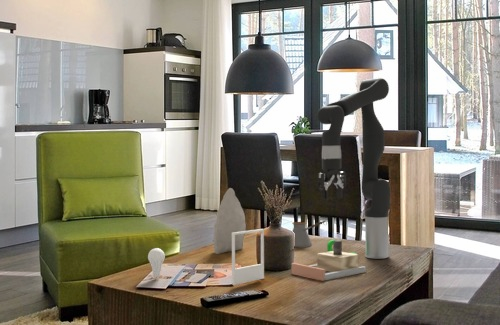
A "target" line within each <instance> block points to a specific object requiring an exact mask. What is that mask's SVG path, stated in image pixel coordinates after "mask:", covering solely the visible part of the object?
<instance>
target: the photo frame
mask: <svg viewBox="0 0 500 325" xmlns="http://www.w3.org/2000/svg"><path fill="white" fill-rule="evenodd" d="M264 230H265V229H264V228H258V229H250V230H246V231H242V232H234V233H232V251H231V285H233V286H235V285H240V284H243V283H244V284H245V283H249V282H254V281H258V280H263V279H265V241H264V240H265V235H264V234H265V231H264ZM259 232H260V263H259V264H252V265H247V266H242V267H237V268H236V250H235V235H238V234H251V233H252V234H253V233H259Z"/></svg>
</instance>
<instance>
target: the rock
mask: <svg viewBox="0 0 500 325" xmlns="http://www.w3.org/2000/svg"><path fill="white" fill-rule="evenodd" d="M215 218H216V219H215V222H214V225H213V228H214V232H213V236H212V243H213V248H214V254H217V255H218V254H223V253H226V252H232V233H234V232H242V231H247V230H246V227H247V224H246V216H245V212H244V210H243V207H242V206H241V202H240V201H239V199H238V198H237V196H236V193H235V190H234V189H233V188H231V187H229V188H228V189H227V190H226V192H225V193H224V194H223V198H222V200H221V201H220V205H219V206H218V210H217V212H216V217H215ZM245 234H246V233H245ZM245 234H238V235H235V251H238V250H242V249H243V248H244V238H245Z"/></svg>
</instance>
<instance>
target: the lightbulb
mask: <svg viewBox="0 0 500 325" xmlns="http://www.w3.org/2000/svg"><path fill="white" fill-rule="evenodd" d="M165 258H166V254H165V252H164V250H162V249H161V248H159V247H155V248H152V249H151V250H149V252H148V255H147V259H148V262H149V264H150V267H151V270H152V277H153V278H155V277H156V278H155V279H158V278H160V277H161V271H162V265H163V263H164V261H165ZM157 277H158V278H157Z"/></svg>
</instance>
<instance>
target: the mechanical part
mask: <svg viewBox="0 0 500 325" xmlns="http://www.w3.org/2000/svg"><path fill="white" fill-rule="evenodd" d="M333 241H336V239H330V240H329V241H328V242H327V246H326V248H327V249H326V252H330V251H333V248H332V247H333ZM351 253H352V254H357V253H356V252H351Z"/></svg>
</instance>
